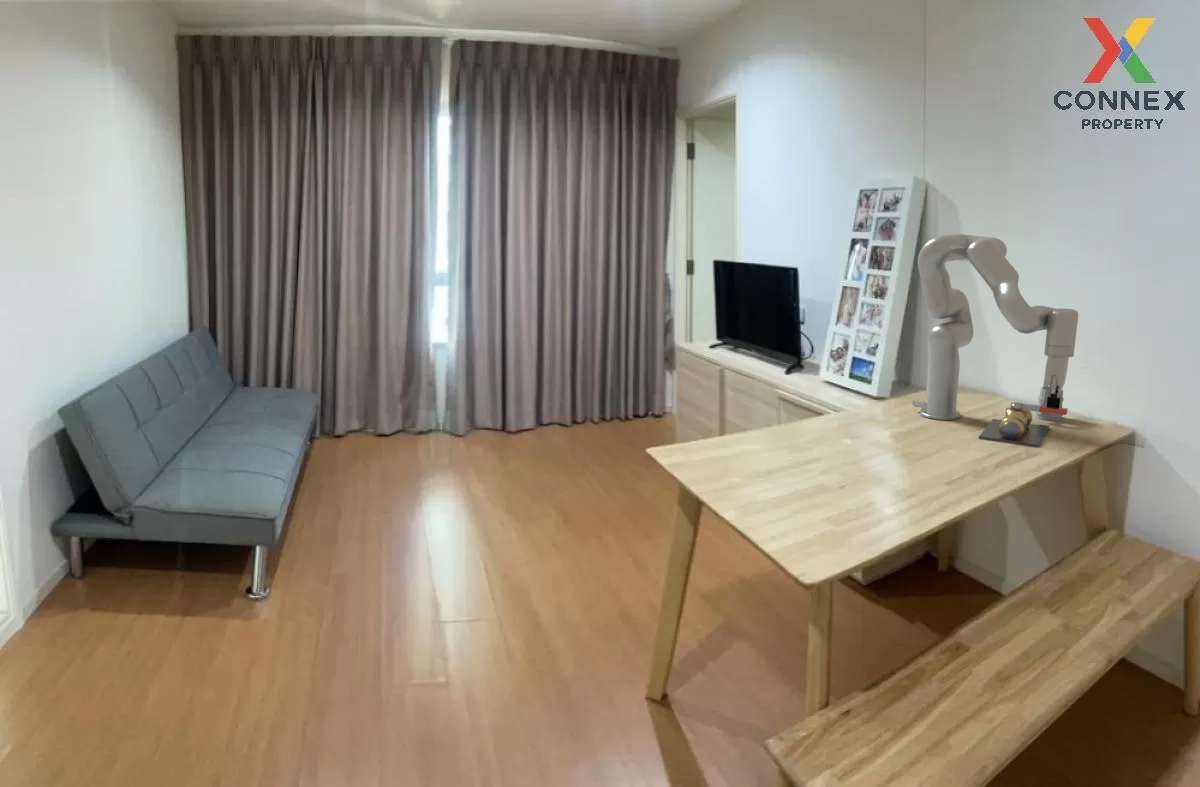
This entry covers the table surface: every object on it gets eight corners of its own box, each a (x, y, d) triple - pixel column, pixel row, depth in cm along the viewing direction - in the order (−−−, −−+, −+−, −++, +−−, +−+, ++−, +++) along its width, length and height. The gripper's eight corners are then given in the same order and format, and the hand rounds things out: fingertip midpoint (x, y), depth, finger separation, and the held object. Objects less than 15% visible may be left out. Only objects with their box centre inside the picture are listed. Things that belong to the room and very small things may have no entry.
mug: (1064, 417, 244) (1069, 381, 241) (1055, 425, 236) (1059, 388, 233) (1038, 413, 249) (1042, 378, 246) (1028, 421, 241) (1032, 385, 238)
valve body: (978, 438, 226) (980, 414, 224) (992, 421, 242) (995, 398, 241) (1038, 447, 216) (1041, 422, 214) (1049, 428, 233) (1052, 405, 231)
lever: (1009, 409, 227) (1010, 404, 227) (1011, 406, 230) (1012, 401, 229) (1065, 415, 218) (1066, 410, 218) (1067, 413, 221) (1067, 407, 221)
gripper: (1047, 345, 228) (1041, 403, 232) (1041, 353, 216) (1034, 414, 221) (1076, 347, 223) (1069, 406, 228) (1071, 356, 212) (1064, 417, 216)
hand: (1052, 409), depth 224 cm, fingers closed
